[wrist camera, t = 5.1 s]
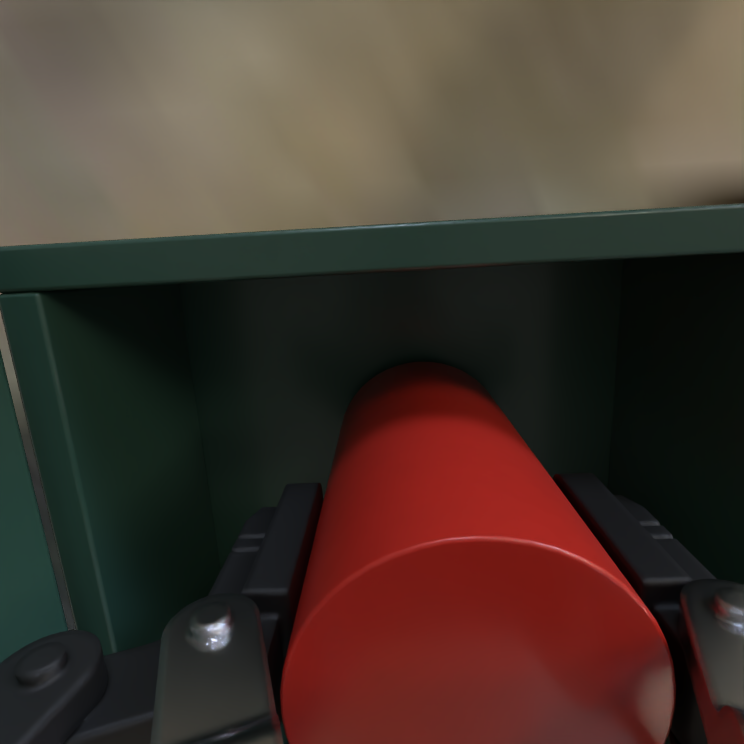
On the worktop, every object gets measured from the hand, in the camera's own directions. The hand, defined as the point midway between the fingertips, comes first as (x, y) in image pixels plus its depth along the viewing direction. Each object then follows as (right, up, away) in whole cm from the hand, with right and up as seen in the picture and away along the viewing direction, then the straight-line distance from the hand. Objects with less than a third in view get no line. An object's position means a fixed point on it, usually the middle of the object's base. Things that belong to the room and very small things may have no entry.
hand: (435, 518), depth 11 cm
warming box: (0, +1, +6) cm, 6 cm away
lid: (-10, -3, -8) cm, 13 cm away
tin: (0, +1, +4) cm, 4 cm away
